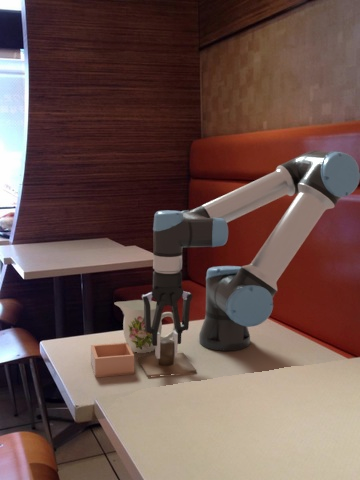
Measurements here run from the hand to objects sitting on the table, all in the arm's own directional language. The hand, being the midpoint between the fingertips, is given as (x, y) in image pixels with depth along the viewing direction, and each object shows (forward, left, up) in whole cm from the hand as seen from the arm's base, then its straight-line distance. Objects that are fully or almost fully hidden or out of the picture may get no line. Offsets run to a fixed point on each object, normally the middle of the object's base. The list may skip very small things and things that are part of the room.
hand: (166, 355), depth 157 cm
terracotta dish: (+14, -2, -3) cm, 15 cm away
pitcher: (+3, -14, -3) cm, 14 cm away
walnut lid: (0, 0, -3) cm, 3 cm away
